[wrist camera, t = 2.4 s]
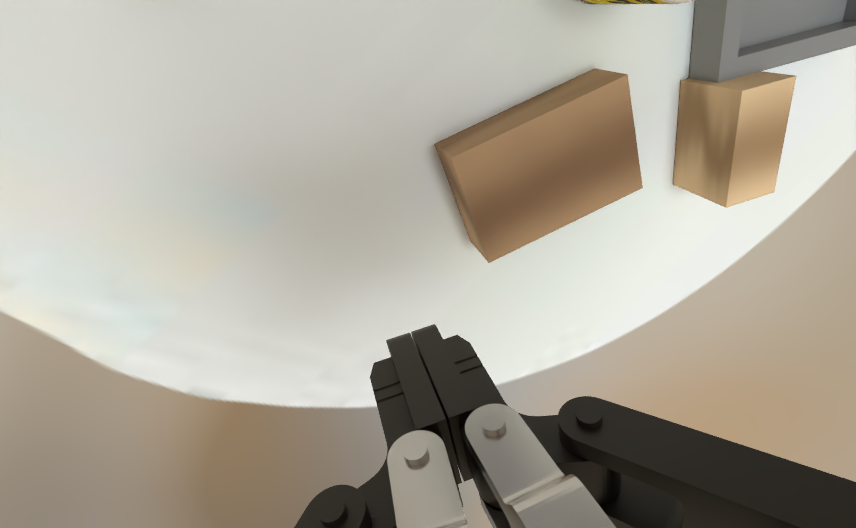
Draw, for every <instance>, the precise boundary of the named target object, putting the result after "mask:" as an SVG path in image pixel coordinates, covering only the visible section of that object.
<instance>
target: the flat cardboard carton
mask: <svg viewBox="0 0 856 528" xmlns="http://www.w3.org/2000/svg"><path fill="white" fill-rule="evenodd" d="M435 147H436V150H437V152H438V155H439V158H440V160H441V163H442V166H443V168H444V171H445V174H446V176H447V179H448V182H449V184H450V187H451V190H452V192H453V195H454V198H455V200H456V203H457V206H458V208H459V211H460V214H461V216H462V219H463V222H464V224H465V227H466V230H467V232H468V235H469V238H470V240H471V242H472V243H473V245H474V246H475V247H476V248H477V249H478V251H479V252H480V253H481V254H482V255H483V257H484V258H485V259H486V260H487V261H488V263H490V262H492V261H494V260H496V259H498V258H500V257H502V256H504V255H506V254H508V253H510V252H512V251H514V250H516V249H518V248H520V247H522V246H524V245H526V244H529V243H531V242H533V241H535V240H537V239H539V238H541V237H543V236H545V235H547V234H549V233H551V232H553V231H555V230H557V229H559V228H561V227H563V226H565V225H567V224H569V223H571V222H574V221H576V220H578V219H580V218H582V217H584V216H586V215H588V214H590V213H592V212H594V211H596V210H598V209H600V208H602V207H604V206H606V205H608V204H610V203H612V202H614V201H616V200H619V199H621V198H623V197H625V196H627V195H629V194H631V193H633V192H635V191H637V190H639V189H641V188H643V187H642V180H641V172H640V165H639V157H638V150H637V143H636V135H635V128H634V120H633V113H632V105H631V98H630V90H629V83H628V75H627V74H622V73H616V72H611V71H605V70H600V69H593V70H591V71H588V72H586V73H584V74H582V75H580V76H578V77H576V78H574V79H571V80H569V81H567V82H565V83H563V84H561V85H559V86H557V87H554V88H552V89H550V90H548V91H546V92H544V93H542V94H540V95H537V96H535V97H533V98H531V99H529V100H527V101H525V102H523V103H520V104H518V105H516V106H514V107H512V108H510V109H508V110H506V111H503V112H501V113H499V114H497V115H495V116H493V117H491V118H489V119H486V120H484V121H482V122H480V123H478V124H476V125H474V126H472V127H469V128H467V129H465V130H463V131H461V132H459V133H457V134H455V135H452V136H450V137H448V138H446V139H444V140H442V141H440V142H438V143H435Z"/></svg>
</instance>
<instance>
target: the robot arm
mask: <svg viewBox="0 0 856 528" xmlns="http://www.w3.org/2000/svg"><path fill="white" fill-rule="evenodd" d="M411 333H412V337H411V334H410V333H407V334H404V335H401V336H398V337H395V338H392V339H389V340H386V341H387V345H388V348H389V352H390V355H391V357H390V358H387V359H384V360H381V361H378V362H375V363H374V365H373V368H372V372H371V375H370V379H371V383H372V387H373V391H374V395H375V399H376V402H377V407H378V410H379V414H380V418H381V422H382V426H383V430H384V434H385V438H386V441H387V447H388V452H387V457H386V460H385V462H384V464H383V466H382V468H381V469H380V470H379V472H378V473H377V474H376V475H375V476H374V477H372V478H371V479H370V480H369V481H367V482H366V483H365V484H363V485H362V486H360V487H359V488H358V489H356V488H354V487H352V486H348V485H336V486H333V487H330V488H328V489H325V490H324V491H322V492H321V493H319V494H318V495H317V496H316V497H315V498H314V499H313V500H312V501H311V502H310V503H309V505H308V506H307V508H306V510H305V511H304V513H303V514H302V516H301V518H300V519H299V521H298V523H297V524H296V526H295V527H294V528H469V526H468V523H467V520H466V518H465V515H464V511H463V503H462V500H461V496H460V492H459V488H458V484H459V483H462V482H461V478H460V474H459V470H460V473H461V475H462V477H463V480H464V481H467V480H470V479H472V478H473V480H474V482H475V484H476V487H477V489H478V491H479V495H480V500H481V505H482V507H483V509H484V511H485V513H486V515H487V517H488V519H489V521H490V523H491V525H492V527H493V528H856V482H853V481H850V480H848V479H845V478H841V477H838V476H835V475H832V474H829V473H826V472H823V471H820V470H817V469H814V468H811V467H808V466H805V465H801V464H798V463H796V462H792V461H789V460H786V459H783V458H780V457H777V456H774V455H771V454H768V453H765V452H762V451H759V450H755V449H753V448H750V447H747V446H743V445H740V444H737V443H734V442H731V441H728V440H725V439H722V438H719V437H716V436H713V435H710V434H707V433H703V432H701V431H698V430H694V429H691V428H688V427H685V426H682V425H679V424H676V423H673V422H670V421H667V420H663V419H661V418H658V417H655V416H652V415H649V414H645V413H642V412H639V411H636V410H633V409H630V408H627V407H624V406H621V405H618V404H615V403H612V402H609V401H605V400H602V399H599V398H596V397H589V396H588V397H587V396H583V397H577V398H574V399H571V400H569V401H568V402H566V403H565V404H564V405H563V406H562V407H561V409H560V411H559V414H558V415H552V416H527V415H523V414H520V413H518V412H517V411H515V410H514V409H513V408H511V407H509V406H508V405H507V404H506V403H505V402H504V400H503V398H502V397H501V395H500V393H499V392H498V390H497V388H496V386H495V385H494V383H493V381H492V380H491V378H490V376H489V375H488V373H487V371H486V369H485V368H484V367H483V365H482V363H481V361H480V359H479V358H478V357H477V354H476V353H475V351H474V349H473V347H472V346H471V344H470V343H469V342H468V341H466V340H464V339H463V338H461V337H460V336H458V335H455V336H452V337H449V338H447V339H444V340H443V339H442V337H441V335H440V333H439V331H438V329H437V327H436V325H435V324H434V325H431V326H428V327H425V328H422V329H419V330H416V331H413V332H411ZM412 338H413V339H412ZM457 465H458V466H457ZM458 468H459V470H458Z"/></svg>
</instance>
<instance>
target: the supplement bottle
mask: <svg viewBox="0 0 856 528" xmlns="http://www.w3.org/2000/svg"><path fill="white" fill-rule="evenodd" d="M577 1H579V2H582V3H587V4H679V3H685V2H690V1H693V0H577Z"/></svg>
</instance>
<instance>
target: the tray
mask: <svg viewBox="0 0 856 528" xmlns="http://www.w3.org/2000/svg"><path fill="white" fill-rule="evenodd" d="M854 45H856V0H695V12H694V24H693V36H692V48H691V60H690V72H689V78H690V79H696V80H703V81H709V82H715V83H720V82H723V81H727V80H731V79H734V78H738V77H742V76H745V75H749V74H752V73H756V72H760V71H763V70H767V69H771V68H774V67H778V66H781V65H785V64H789V63H792V62H796V61H800V60H803V59H807V58H810V57H814V56H818V55H821V54H825V53H828V52H832V51H836V50H839V49H843V48H847V47H850V46H854Z"/></svg>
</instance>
